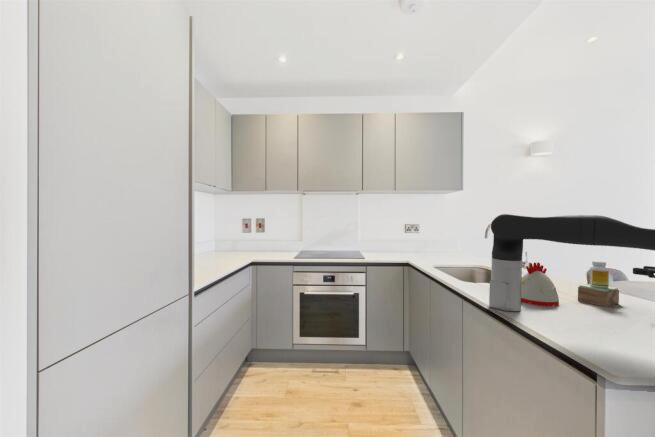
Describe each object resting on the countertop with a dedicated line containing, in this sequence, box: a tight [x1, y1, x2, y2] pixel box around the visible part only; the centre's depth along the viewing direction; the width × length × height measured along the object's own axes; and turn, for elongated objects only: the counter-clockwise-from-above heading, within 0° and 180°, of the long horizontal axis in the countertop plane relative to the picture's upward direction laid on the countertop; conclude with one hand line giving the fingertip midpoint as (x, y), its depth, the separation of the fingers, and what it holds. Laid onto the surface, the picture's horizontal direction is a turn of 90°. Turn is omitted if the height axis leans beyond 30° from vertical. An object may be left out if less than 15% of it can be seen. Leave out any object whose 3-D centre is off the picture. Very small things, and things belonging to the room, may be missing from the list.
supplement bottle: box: [589, 260, 610, 288], centre depth 114 cm, size 5×5×10 cm
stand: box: [577, 283, 620, 308], centre depth 115 cm, size 9×9×6 cm
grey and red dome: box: [521, 262, 560, 307], centre depth 115 cm, size 14×14×15 cm
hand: (638, 269), depth 105 cm, fingers open, 8 cm apart
